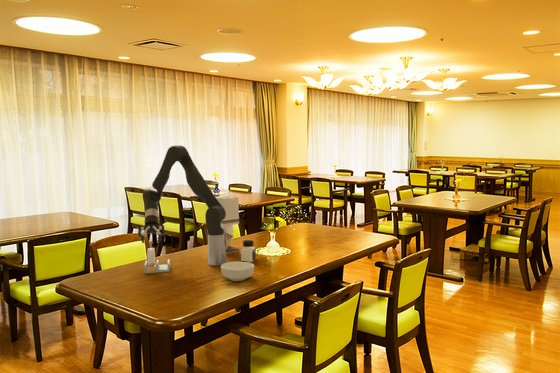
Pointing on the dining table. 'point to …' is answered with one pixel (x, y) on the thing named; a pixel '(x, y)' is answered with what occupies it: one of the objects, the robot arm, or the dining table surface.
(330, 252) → the dining table surface
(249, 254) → the medicine bottle
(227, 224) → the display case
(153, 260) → the panel
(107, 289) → the dining table surface
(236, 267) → the cereal bowl
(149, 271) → the slot rack
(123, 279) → the dining table surface
